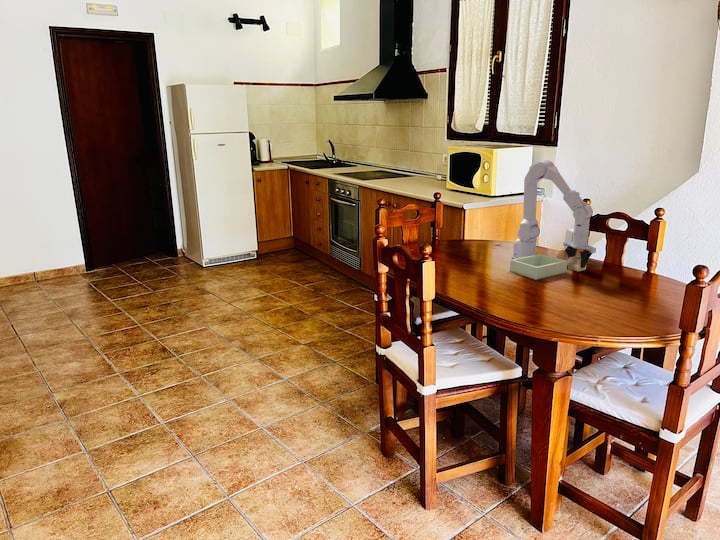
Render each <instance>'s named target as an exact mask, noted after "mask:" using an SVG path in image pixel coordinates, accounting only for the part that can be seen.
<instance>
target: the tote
mask: <svg viewBox="0 0 720 540" xmlns="http://www.w3.org/2000/svg"><path fill="white" fill-rule="evenodd" d="M509 264H510V265H509V272H511V273H513V274H517V275H519V276H523V277H526V278H528V279H532V280H535V281H538V280H542V279H545V278H550V277H555V276H557V275H558V276H559V275H563V274H567V269H568V264H567V261H565V260H561V259H558V258H556V257H555V256H554V257H553V256H550V255H546V254H543V253H537V254H535V255H532V256H527V257H522V258H517V259H514V258H512V259H510V262H509Z"/></svg>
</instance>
